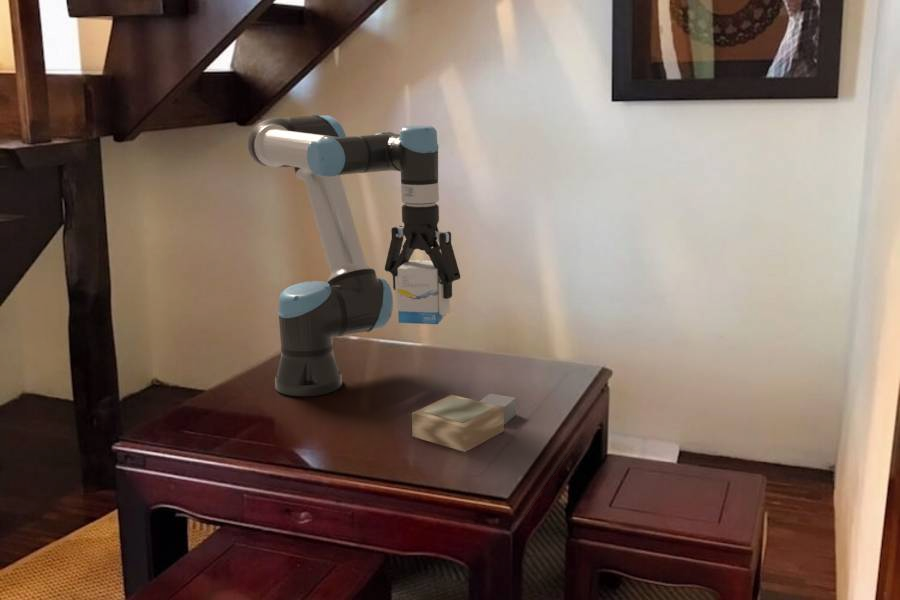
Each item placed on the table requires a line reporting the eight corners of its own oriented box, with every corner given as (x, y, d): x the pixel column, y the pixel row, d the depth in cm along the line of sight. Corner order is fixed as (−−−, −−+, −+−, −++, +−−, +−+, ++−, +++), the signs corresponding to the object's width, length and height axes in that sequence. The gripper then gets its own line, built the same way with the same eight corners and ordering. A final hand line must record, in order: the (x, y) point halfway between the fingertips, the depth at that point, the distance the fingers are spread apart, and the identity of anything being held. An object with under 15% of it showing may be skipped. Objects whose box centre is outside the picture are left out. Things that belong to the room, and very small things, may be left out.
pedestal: (412, 436, 198) (411, 411, 196) (452, 417, 208) (451, 393, 206) (465, 451, 190) (464, 426, 189) (503, 431, 200) (503, 406, 199)
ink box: (438, 325, 202) (437, 269, 199) (397, 323, 204) (396, 267, 201) (447, 314, 210) (446, 260, 207) (408, 312, 212) (406, 259, 209)
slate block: (477, 420, 206) (477, 402, 205) (489, 411, 211) (489, 393, 210) (504, 425, 203) (504, 407, 202) (515, 415, 209) (515, 397, 208)
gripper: (364, 201, 205) (368, 305, 210) (454, 211, 191) (456, 321, 197) (388, 197, 211) (391, 298, 216) (477, 206, 197) (478, 313, 202)
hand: (422, 309), depth 206 cm, fingers closed on ink box, 11 cm apart
